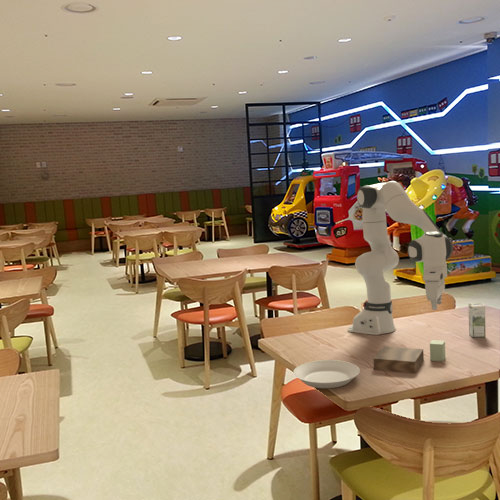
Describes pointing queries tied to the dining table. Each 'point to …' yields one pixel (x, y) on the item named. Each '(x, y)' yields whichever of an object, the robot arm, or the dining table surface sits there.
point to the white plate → (326, 373)
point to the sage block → (437, 350)
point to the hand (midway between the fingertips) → (436, 306)
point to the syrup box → (477, 320)
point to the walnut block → (398, 359)
